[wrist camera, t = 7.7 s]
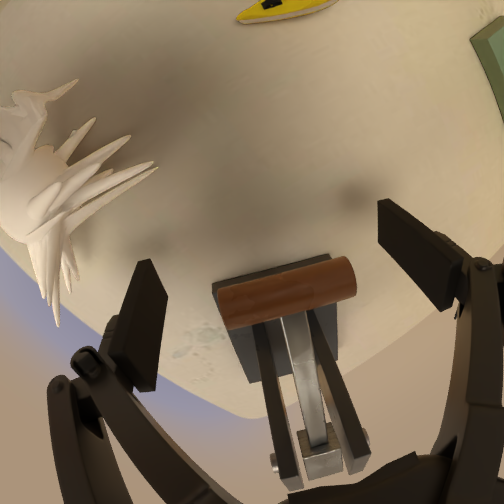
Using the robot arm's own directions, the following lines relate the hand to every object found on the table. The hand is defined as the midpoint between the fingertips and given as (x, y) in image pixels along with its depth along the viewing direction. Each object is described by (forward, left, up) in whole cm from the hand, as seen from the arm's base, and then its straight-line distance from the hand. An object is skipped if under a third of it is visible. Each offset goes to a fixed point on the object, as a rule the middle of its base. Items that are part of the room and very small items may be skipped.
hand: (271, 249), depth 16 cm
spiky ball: (-11, -5, -5) cm, 13 cm away
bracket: (+9, -5, -4) cm, 11 cm away
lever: (+5, -3, +5) cm, 7 cm away
